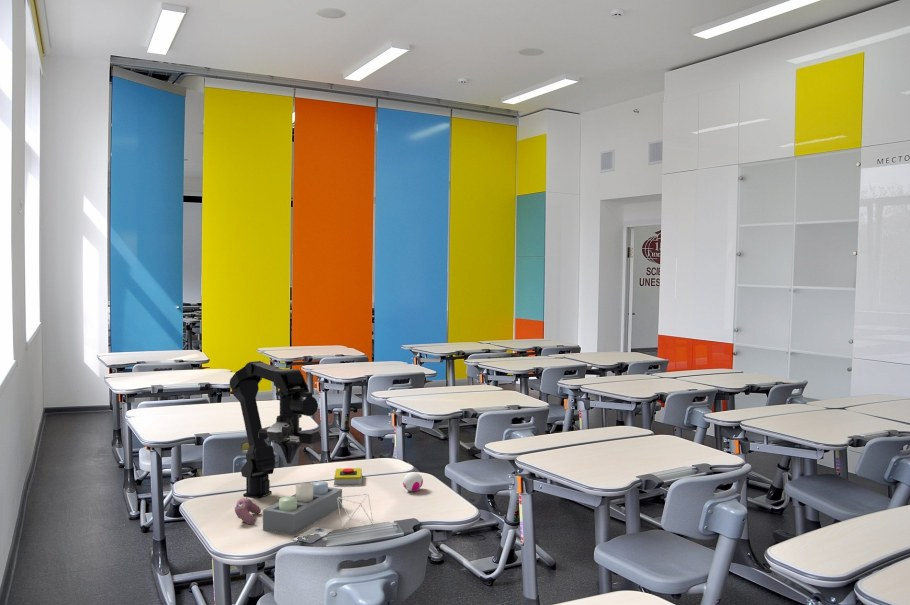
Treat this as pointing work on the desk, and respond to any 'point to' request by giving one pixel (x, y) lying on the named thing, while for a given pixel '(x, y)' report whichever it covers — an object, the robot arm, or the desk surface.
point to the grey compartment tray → (301, 513)
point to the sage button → (288, 503)
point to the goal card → (313, 532)
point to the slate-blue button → (320, 488)
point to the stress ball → (413, 481)
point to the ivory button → (304, 492)
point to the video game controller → (246, 510)
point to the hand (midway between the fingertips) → (289, 463)
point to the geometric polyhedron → (356, 509)
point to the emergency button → (348, 477)
